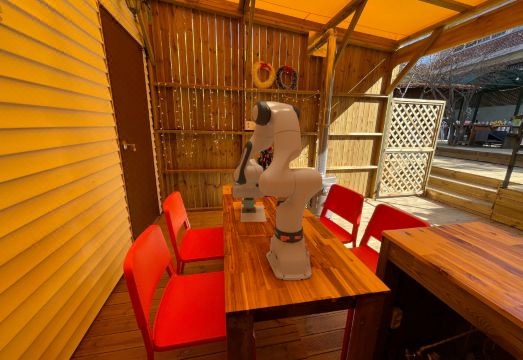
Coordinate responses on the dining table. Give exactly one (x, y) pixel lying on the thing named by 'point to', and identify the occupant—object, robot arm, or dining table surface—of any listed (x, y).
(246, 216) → the post board
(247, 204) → the collar
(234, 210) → the dining table surface
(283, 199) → the ammunition clip
